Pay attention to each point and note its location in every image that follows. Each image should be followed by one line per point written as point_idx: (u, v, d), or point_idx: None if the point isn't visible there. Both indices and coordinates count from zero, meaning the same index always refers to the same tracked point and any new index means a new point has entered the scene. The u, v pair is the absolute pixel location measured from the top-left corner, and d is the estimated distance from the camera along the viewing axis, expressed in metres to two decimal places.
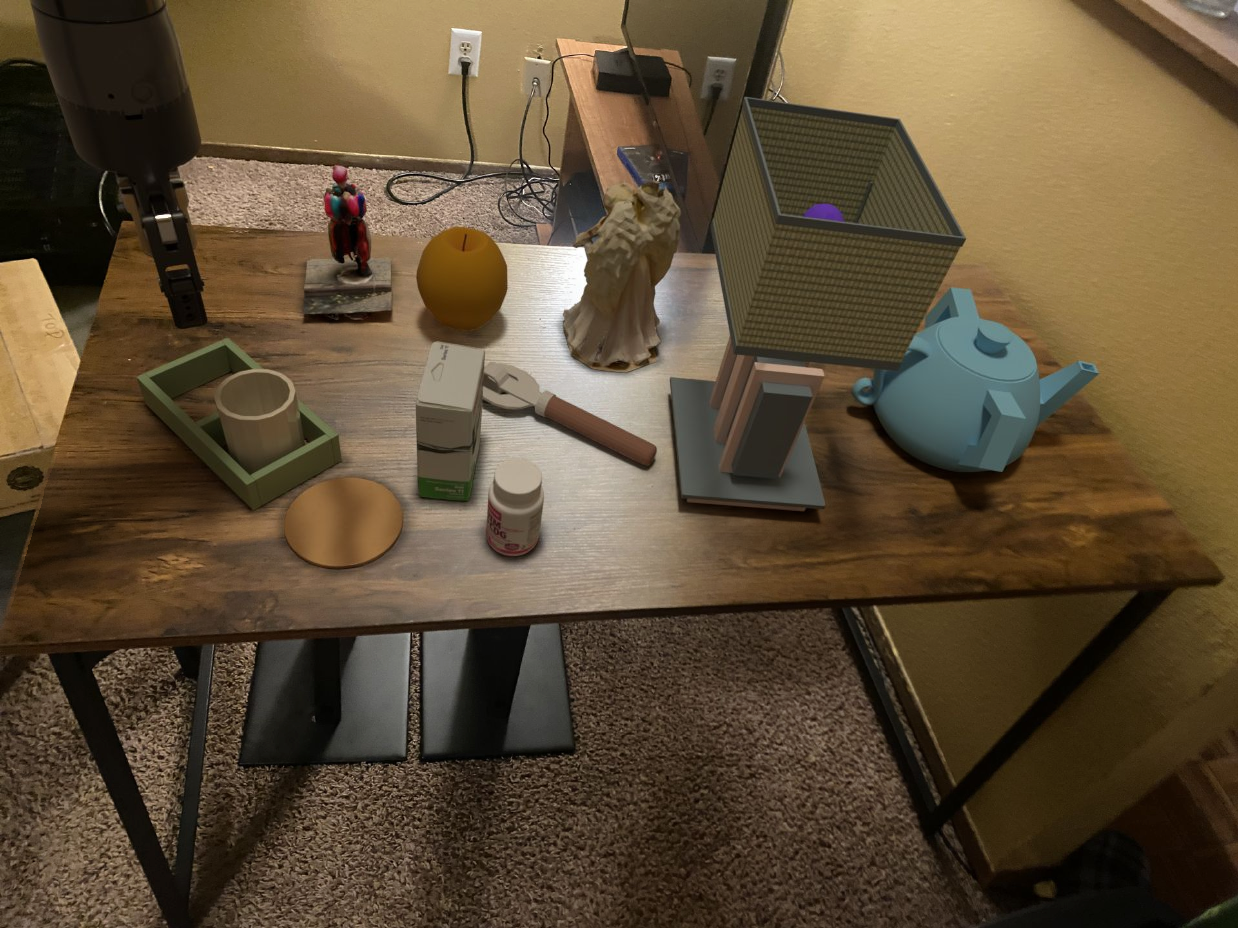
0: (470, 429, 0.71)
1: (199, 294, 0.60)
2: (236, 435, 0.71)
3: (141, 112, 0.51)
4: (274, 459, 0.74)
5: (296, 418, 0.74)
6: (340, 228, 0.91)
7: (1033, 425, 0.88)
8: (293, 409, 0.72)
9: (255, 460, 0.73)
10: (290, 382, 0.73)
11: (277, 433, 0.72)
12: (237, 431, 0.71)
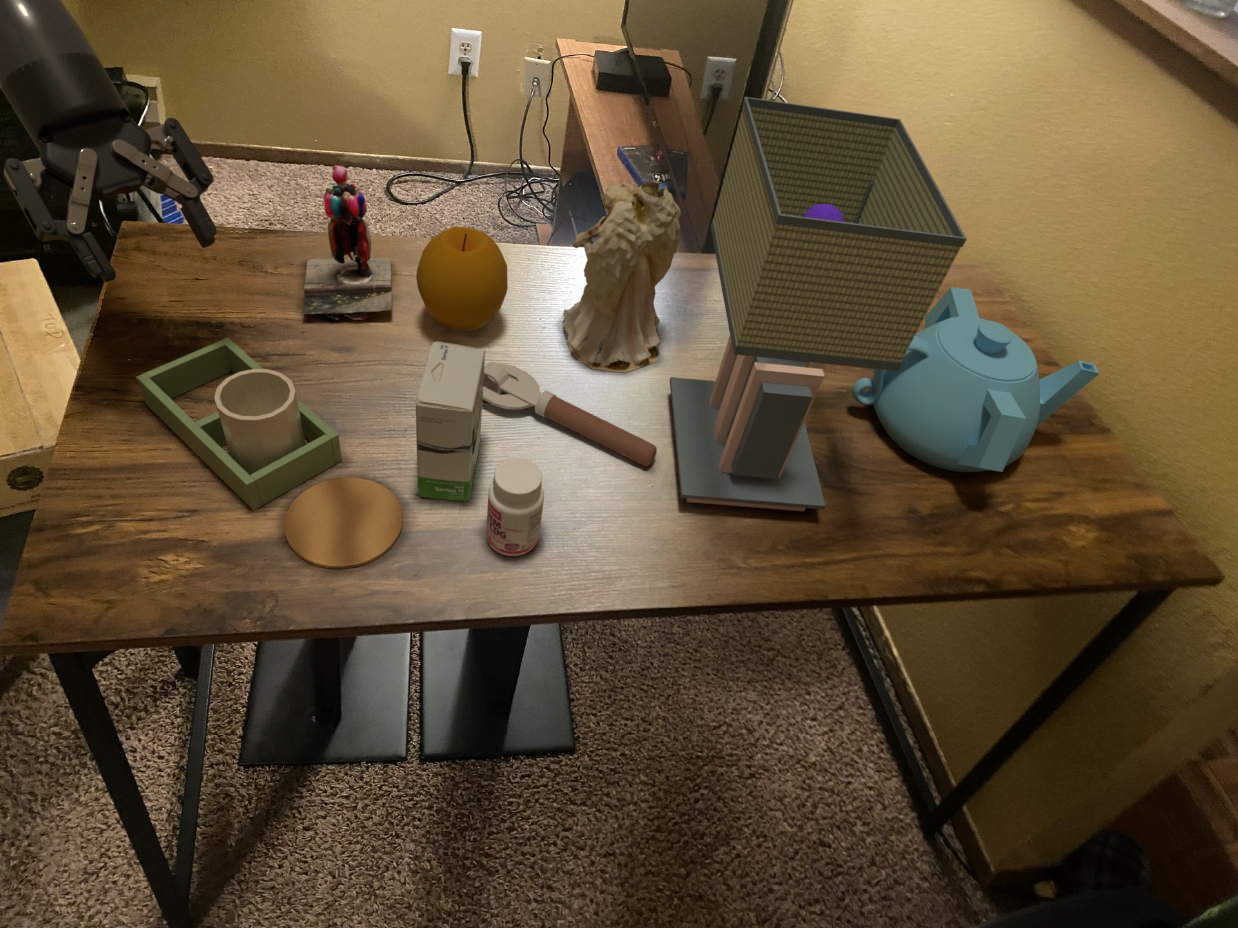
0: (470, 429, 0.71)
1: None
2: (236, 435, 0.71)
3: None
4: (274, 459, 0.74)
5: (296, 418, 0.74)
6: (340, 228, 0.91)
7: (1033, 425, 0.88)
8: (293, 409, 0.72)
9: (255, 460, 0.73)
10: (290, 382, 0.73)
11: (277, 433, 0.72)
12: (237, 431, 0.71)
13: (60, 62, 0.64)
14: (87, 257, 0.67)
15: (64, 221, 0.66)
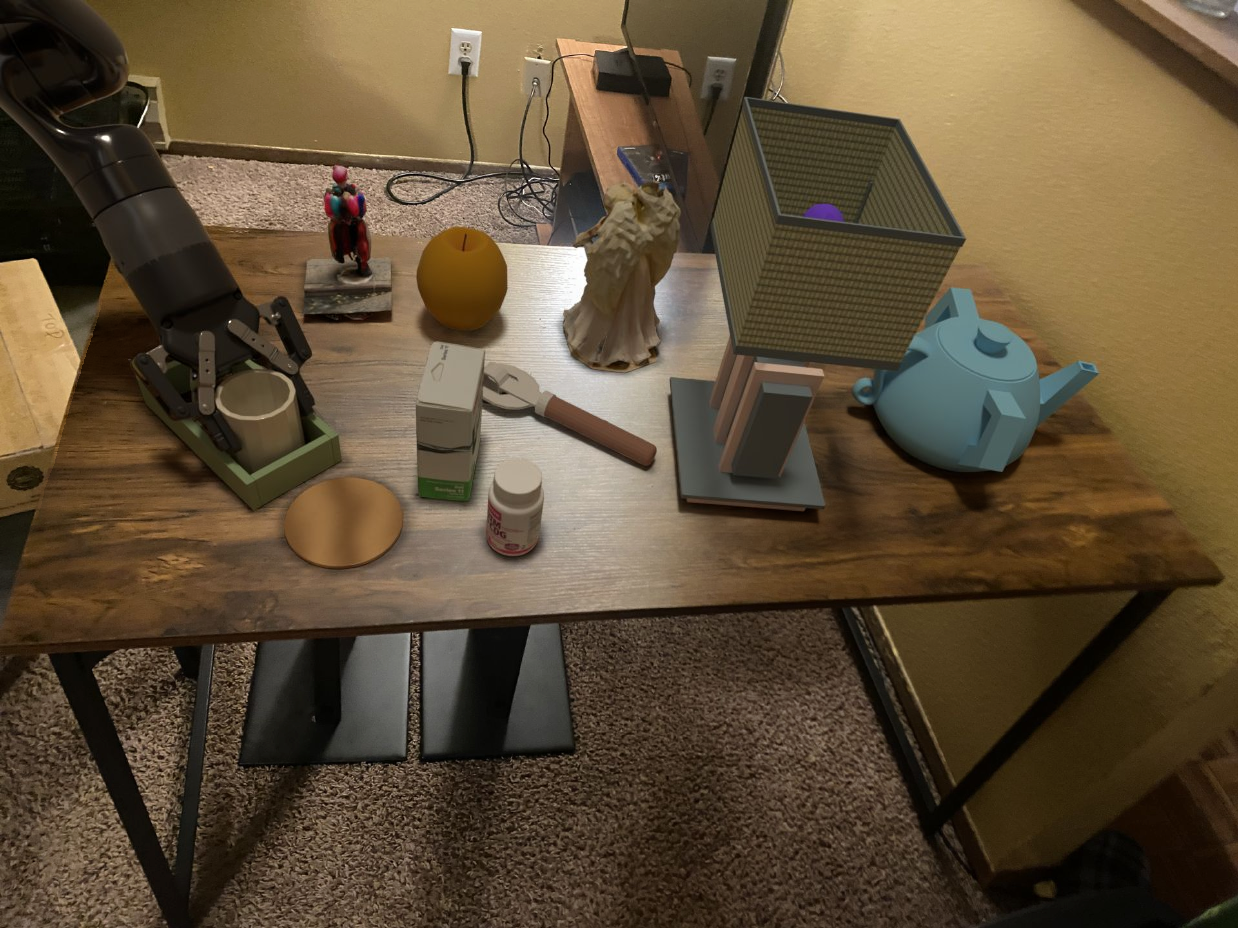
0: (470, 429, 0.71)
1: None
2: (236, 435, 0.71)
3: None
4: (274, 459, 0.74)
5: (296, 418, 0.74)
6: (340, 228, 0.91)
7: (1033, 425, 0.88)
8: (293, 409, 0.72)
9: (255, 460, 0.73)
10: (290, 382, 0.73)
11: (277, 433, 0.72)
12: (237, 431, 0.71)
13: (184, 255, 0.67)
14: (216, 435, 0.70)
15: (196, 403, 0.69)
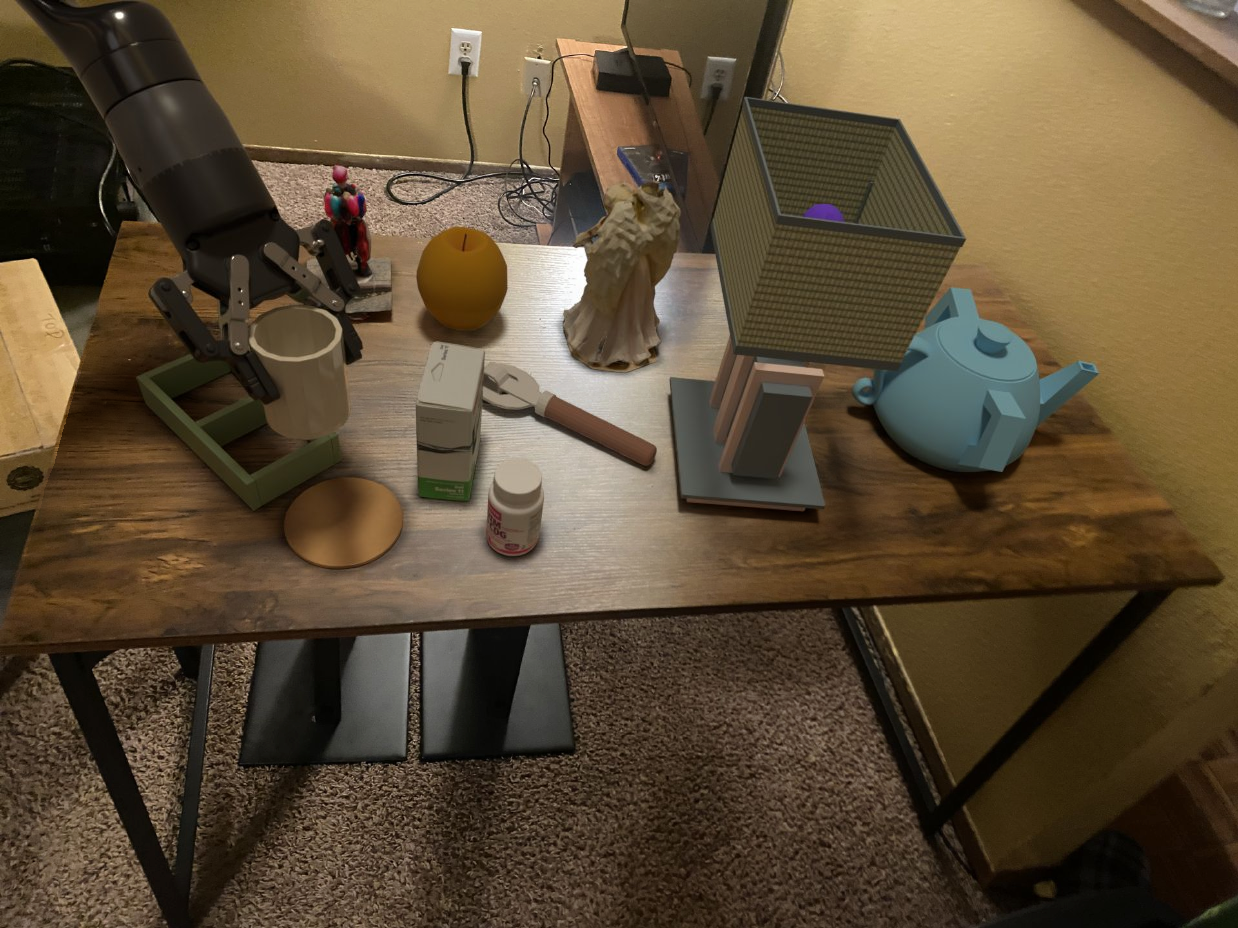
0: (470, 429, 0.71)
1: None
2: (273, 381, 0.60)
3: None
4: (316, 411, 0.63)
5: (342, 363, 0.62)
6: (340, 228, 0.91)
7: (1033, 425, 0.88)
8: (340, 351, 0.61)
9: (295, 412, 0.62)
10: (336, 320, 0.62)
11: (321, 379, 0.61)
12: (274, 376, 0.60)
13: (213, 160, 0.56)
14: (250, 379, 0.59)
15: (226, 340, 0.58)
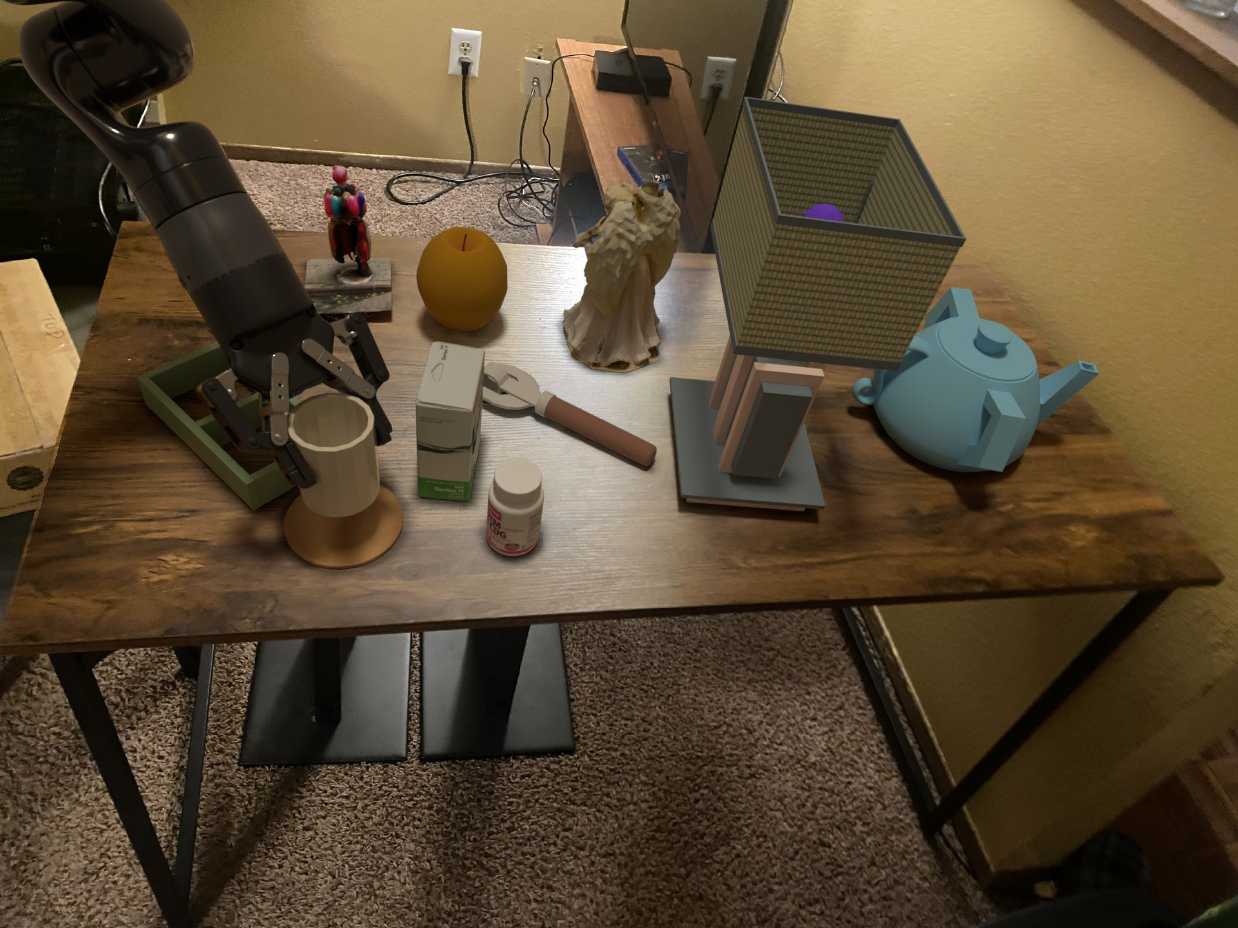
0: (470, 429, 0.71)
1: None
2: (310, 467, 0.64)
3: None
4: (349, 492, 0.67)
5: (374, 447, 0.66)
6: (340, 228, 0.91)
7: (1033, 425, 0.88)
8: (372, 438, 0.65)
9: (329, 494, 0.66)
10: (368, 408, 0.66)
11: (355, 465, 0.65)
12: (311, 463, 0.64)
13: (257, 268, 0.60)
14: (289, 468, 0.63)
15: (267, 432, 0.62)
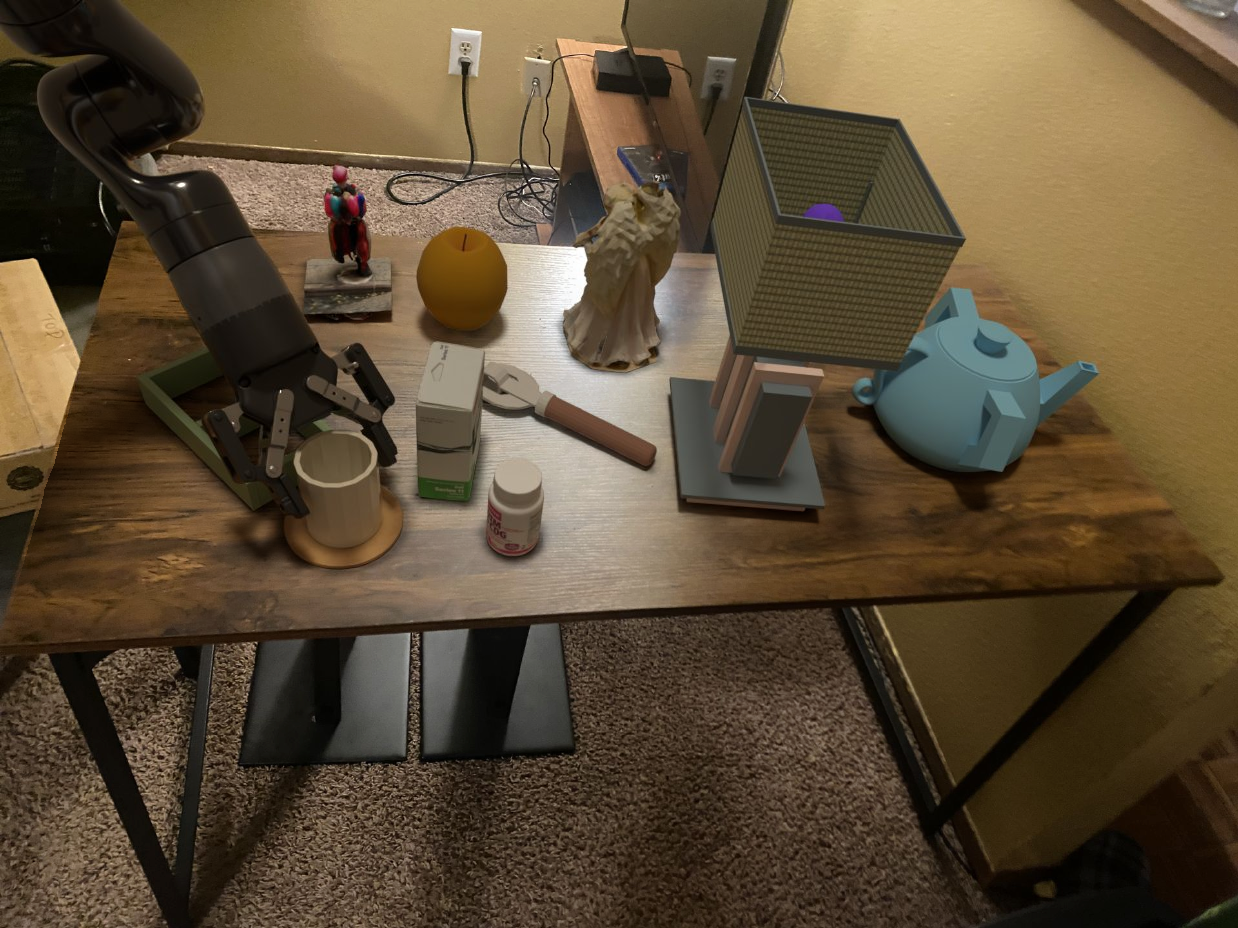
0: (470, 429, 0.71)
1: None
2: (316, 502, 0.67)
3: None
4: (353, 524, 0.70)
5: (377, 482, 0.70)
6: (340, 228, 0.91)
7: (1033, 425, 0.88)
8: (375, 473, 0.68)
9: (334, 526, 0.69)
10: (371, 444, 0.69)
11: (359, 499, 0.68)
12: (318, 498, 0.67)
13: (264, 310, 0.62)
14: (283, 499, 0.65)
15: (262, 465, 0.64)
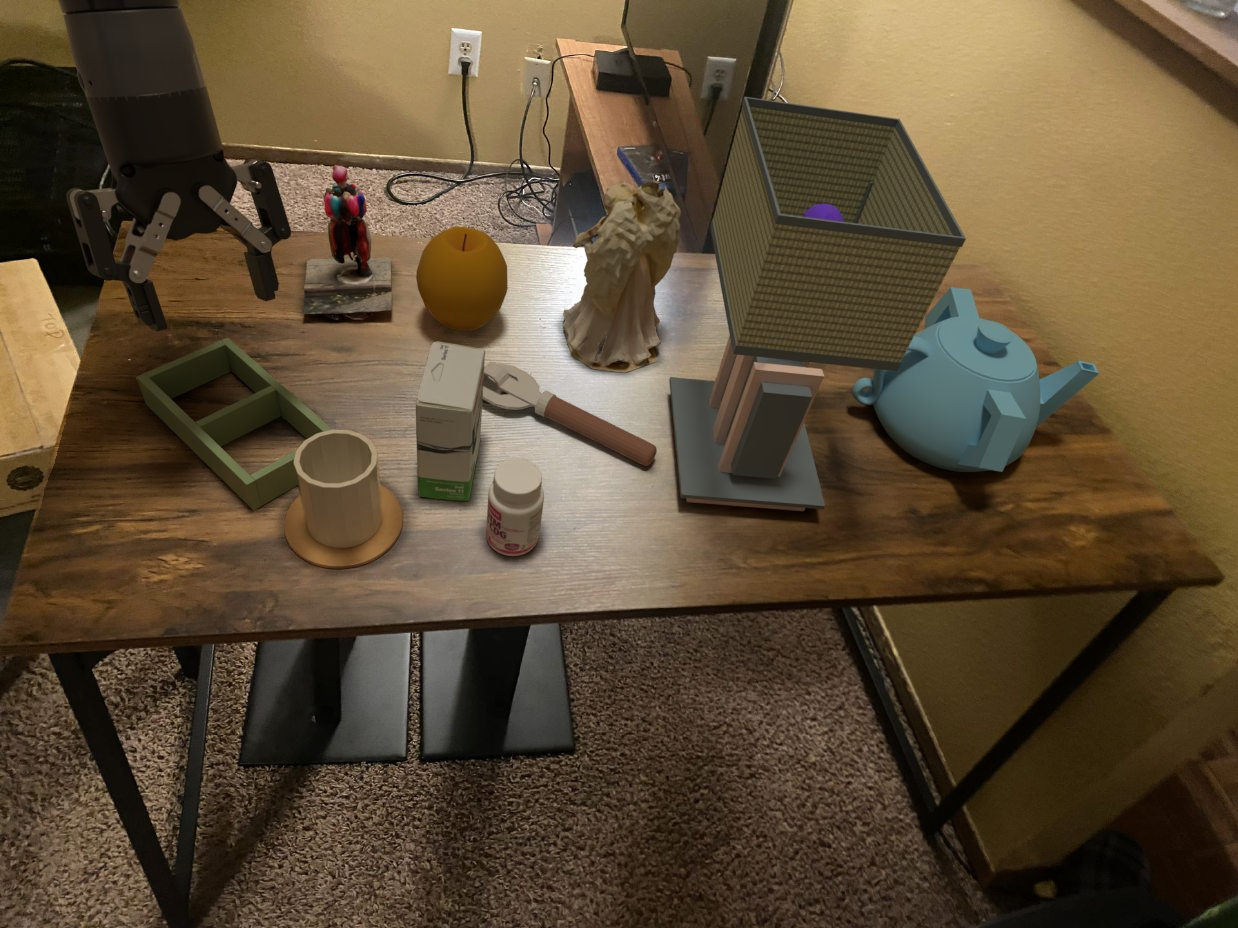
0: (470, 429, 0.71)
1: None
2: (316, 502, 0.67)
3: None
4: (353, 524, 0.70)
5: (377, 482, 0.70)
6: (340, 228, 0.91)
7: (1033, 425, 0.88)
8: (375, 473, 0.68)
9: (334, 526, 0.69)
10: (371, 444, 0.69)
11: (359, 499, 0.68)
12: (318, 498, 0.67)
13: (171, 101, 0.55)
14: (141, 307, 0.60)
15: (126, 265, 0.59)
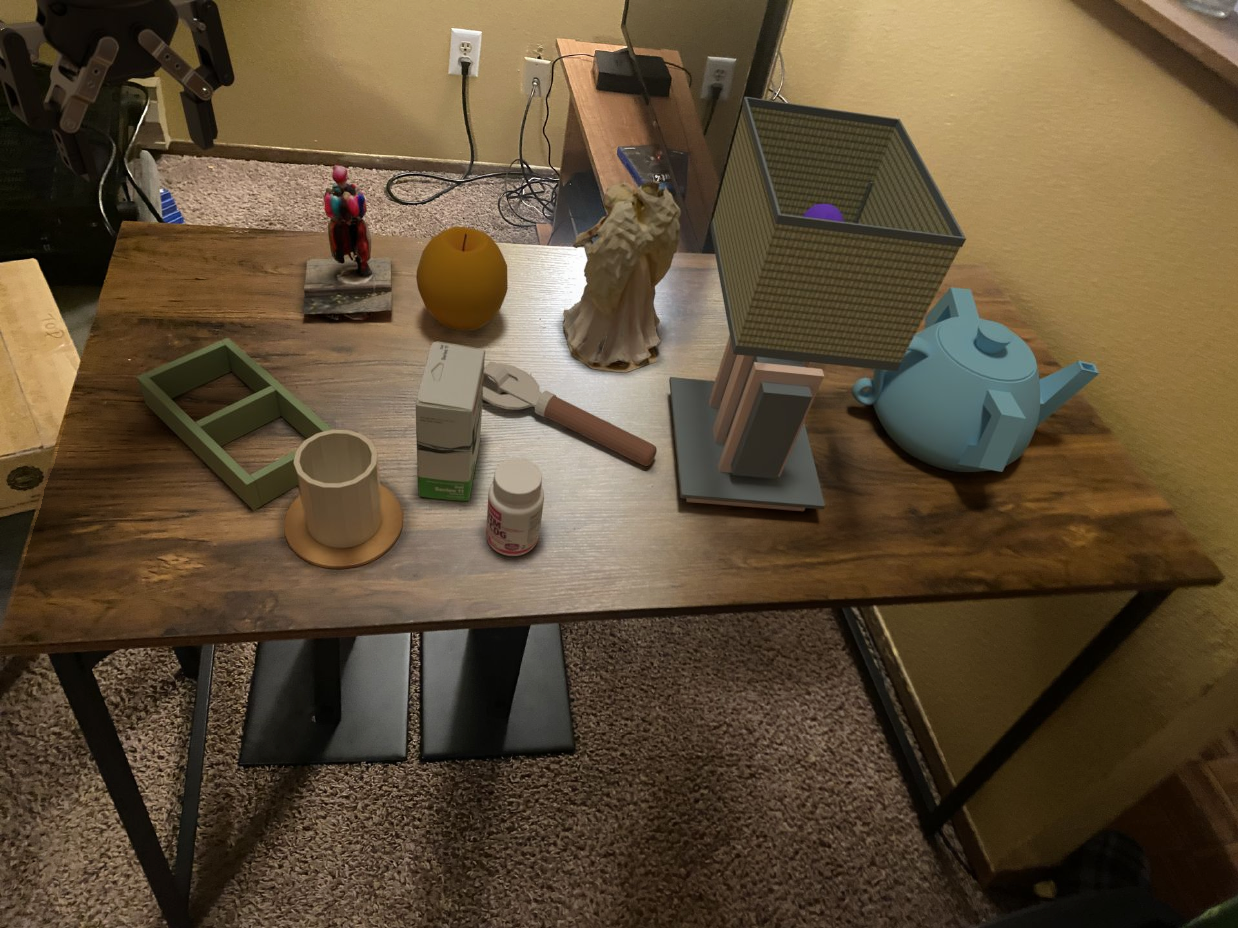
0: (470, 429, 0.71)
1: None
2: (316, 502, 0.67)
3: None
4: (353, 524, 0.70)
5: (377, 482, 0.70)
6: (340, 228, 0.91)
7: (1033, 425, 0.88)
8: (375, 473, 0.68)
9: (334, 526, 0.69)
10: (371, 444, 0.69)
11: (359, 499, 0.68)
12: (318, 498, 0.67)
13: None
14: (72, 156, 0.56)
15: (55, 112, 0.54)
